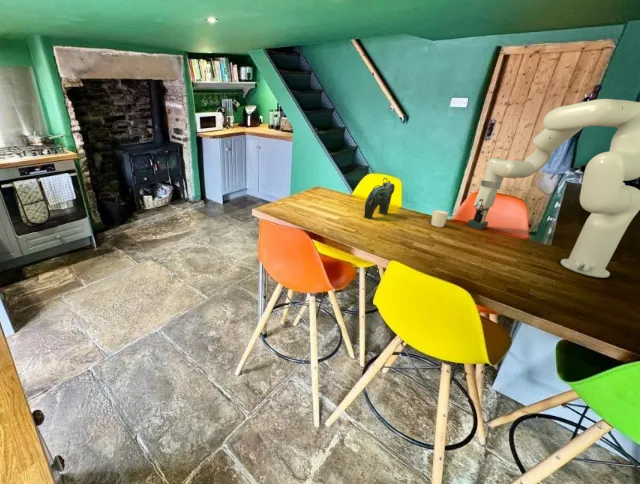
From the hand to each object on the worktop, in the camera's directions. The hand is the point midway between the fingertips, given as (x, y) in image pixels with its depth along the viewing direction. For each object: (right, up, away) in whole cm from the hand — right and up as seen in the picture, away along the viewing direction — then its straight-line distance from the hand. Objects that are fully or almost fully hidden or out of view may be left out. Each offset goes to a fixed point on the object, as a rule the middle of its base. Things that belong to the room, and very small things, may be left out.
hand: (479, 220), depth 149 cm
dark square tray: (0, -3, +1) cm, 3 cm away
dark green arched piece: (-47, +3, +10) cm, 48 cm away
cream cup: (-21, -2, 0) cm, 21 cm away
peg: (0, -1, 0) cm, 1 cm away
